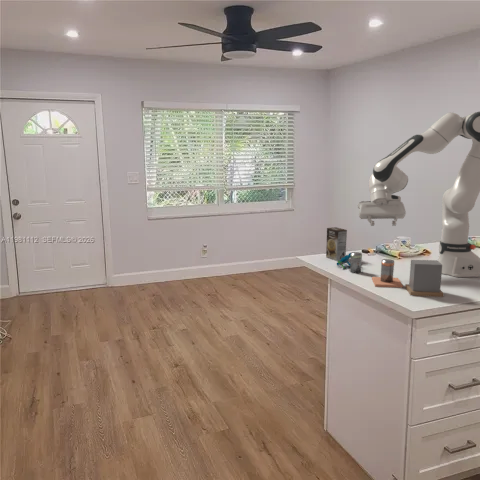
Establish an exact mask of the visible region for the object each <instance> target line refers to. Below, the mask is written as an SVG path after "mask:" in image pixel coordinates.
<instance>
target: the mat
mask: <svg viewBox="0 0 480 480" xmlns="http://www.w3.org/2000/svg"><path fill="white" fill-rule="evenodd" d="M371 280H372V282H373V285H374V287H375V288H376V287H378V288H379V287H381V288H382V287H383V288H400V287H404V285H403V284H402V281H401V280H400V279H399V277H393V282H391V283H386V282H382V281H381V276H372V277H371Z"/></svg>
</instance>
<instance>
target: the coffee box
mask: <svg viewBox="0 0 480 480" xmlns="http://www.w3.org/2000/svg"><path fill="white" fill-rule="evenodd" d="M347 235H348V230H347V229H345V228H340V227H336V226H335V227H327V228H326V246H325V248H326V252H325V254H326V255H325V256H326V258H328V259H330V260H334V261H336V262H337V261H339V260H341V259H342V258H343V257H345V256H346V255H347V238H348V237H347Z"/></svg>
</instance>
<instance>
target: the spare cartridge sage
mask: <svg viewBox="0 0 480 480" xmlns="http://www.w3.org/2000/svg"><path fill="white" fill-rule="evenodd" d="M350 253H351V255H350V257H351V258H350V262H349V263H350V266H349V268H350V270H349V272H350V273H352V274H361V273H362V261H363V260H362V259H363V253H362V252H358V251H352V252H350Z"/></svg>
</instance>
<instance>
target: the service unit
mask: <svg viewBox="0 0 480 480" xmlns="http://www.w3.org/2000/svg"><path fill="white" fill-rule="evenodd" d="M409 269H410V270H409V281H408V282H409V283H405V286H404V287H405V290H406V291H407V292H408V294H409V296H411V295H415V297H435V298H436V297H437V298H438V297H440V298H443V297H444V292H443V291H442V289H441V286H442V285H441V284H442V264H441V263H440V262H439V261H438V259H437V260H435V259H411V260H410V267H409Z"/></svg>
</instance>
